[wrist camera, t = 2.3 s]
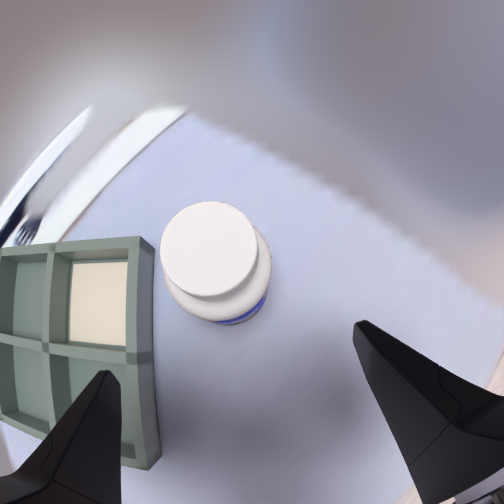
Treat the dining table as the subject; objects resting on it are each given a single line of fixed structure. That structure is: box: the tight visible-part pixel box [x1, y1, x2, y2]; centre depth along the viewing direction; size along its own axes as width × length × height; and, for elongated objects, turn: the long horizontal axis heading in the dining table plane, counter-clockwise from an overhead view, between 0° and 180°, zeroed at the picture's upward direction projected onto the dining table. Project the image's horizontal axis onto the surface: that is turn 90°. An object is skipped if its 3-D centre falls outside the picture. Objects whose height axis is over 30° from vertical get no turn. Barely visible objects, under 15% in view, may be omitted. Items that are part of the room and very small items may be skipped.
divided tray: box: [0, 236, 162, 471], centre depth 18 cm, size 16×16×3 cm
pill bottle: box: [160, 201, 272, 325], centre depth 16 cm, size 5×5×10 cm
